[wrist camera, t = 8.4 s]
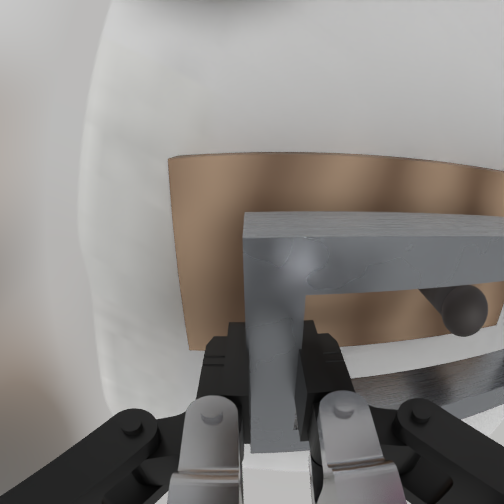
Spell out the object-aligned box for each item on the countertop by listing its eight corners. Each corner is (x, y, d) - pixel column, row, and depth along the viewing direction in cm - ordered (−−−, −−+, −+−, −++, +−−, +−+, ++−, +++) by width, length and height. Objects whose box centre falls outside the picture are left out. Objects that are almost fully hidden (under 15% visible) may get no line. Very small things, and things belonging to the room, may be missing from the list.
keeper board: (512, 172, 17) (601, 204, 9) (484, 313, 21) (544, 377, 13) (176, 155, 17) (109, 179, 9) (194, 332, 22) (167, 436, 13)
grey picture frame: (560, 221, 10) (593, 237, 8) (513, 364, 13) (534, 389, 11) (244, 212, 10) (242, 238, 8) (250, 408, 13) (250, 453, 11)
